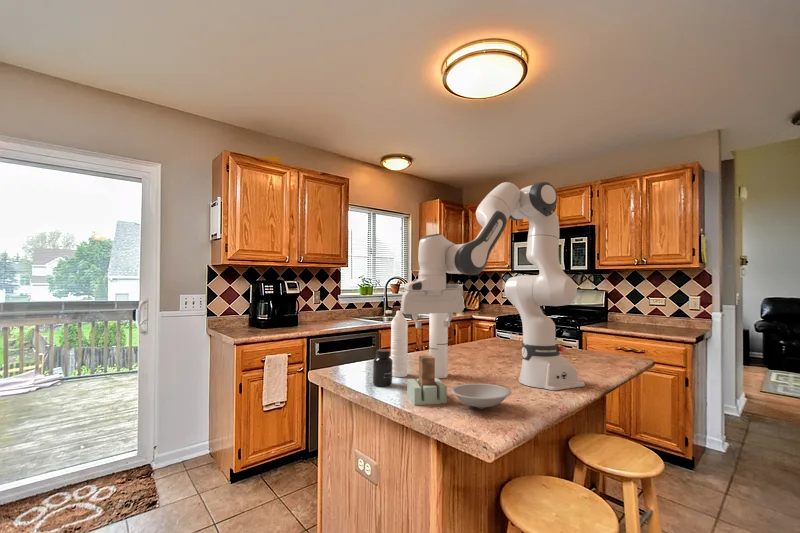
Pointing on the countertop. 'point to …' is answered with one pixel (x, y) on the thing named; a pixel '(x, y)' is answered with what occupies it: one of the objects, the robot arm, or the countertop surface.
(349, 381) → the countertop surface
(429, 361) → the peg
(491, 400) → the dish
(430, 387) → the socket
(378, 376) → the supplement bottle
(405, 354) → the water bottle
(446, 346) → the cylindrical container
